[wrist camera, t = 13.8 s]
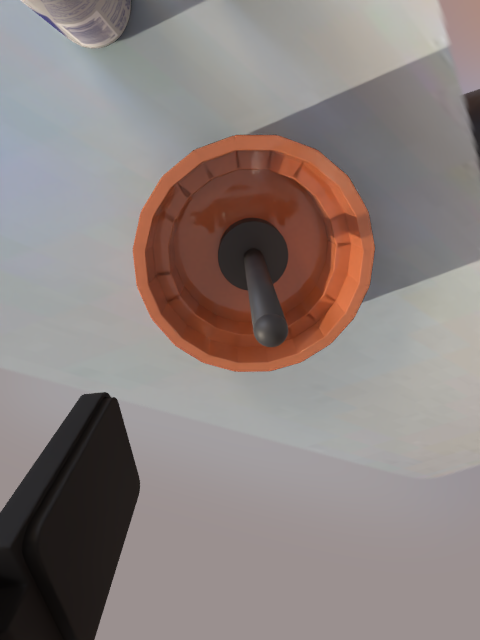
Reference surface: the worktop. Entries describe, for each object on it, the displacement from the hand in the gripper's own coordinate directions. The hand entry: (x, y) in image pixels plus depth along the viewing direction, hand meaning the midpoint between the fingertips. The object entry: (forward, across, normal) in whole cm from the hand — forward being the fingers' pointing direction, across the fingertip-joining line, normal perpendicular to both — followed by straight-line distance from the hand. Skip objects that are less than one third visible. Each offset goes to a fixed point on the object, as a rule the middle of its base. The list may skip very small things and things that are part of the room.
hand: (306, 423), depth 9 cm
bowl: (+22, +1, 0) cm, 22 cm away
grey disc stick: (+21, +1, 0) cm, 21 cm away
